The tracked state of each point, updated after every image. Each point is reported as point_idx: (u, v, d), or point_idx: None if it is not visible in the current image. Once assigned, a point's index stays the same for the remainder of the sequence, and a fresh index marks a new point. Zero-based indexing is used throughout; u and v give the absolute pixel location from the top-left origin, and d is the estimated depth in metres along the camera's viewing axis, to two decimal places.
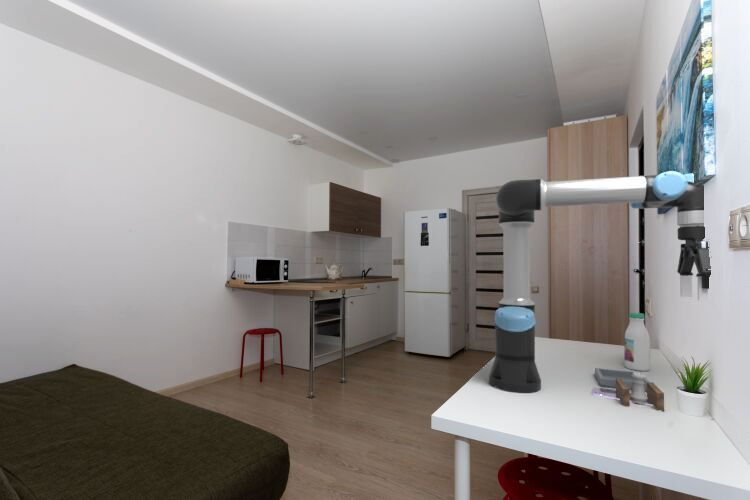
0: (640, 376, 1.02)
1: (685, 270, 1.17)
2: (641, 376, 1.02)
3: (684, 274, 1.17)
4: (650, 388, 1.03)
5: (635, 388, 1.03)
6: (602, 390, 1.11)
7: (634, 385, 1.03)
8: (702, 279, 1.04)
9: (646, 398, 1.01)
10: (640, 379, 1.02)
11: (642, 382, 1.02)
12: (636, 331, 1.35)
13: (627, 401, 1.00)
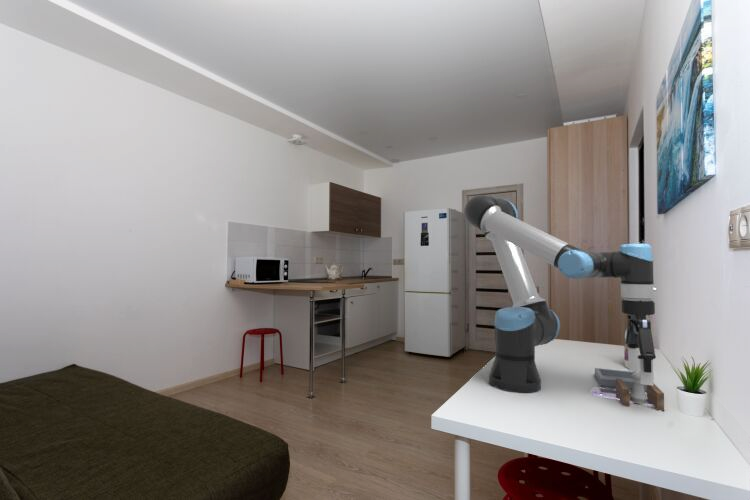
0: None
1: (632, 343, 1.09)
2: None
3: (632, 347, 1.10)
4: (650, 388, 1.03)
5: (635, 388, 1.03)
6: (602, 390, 1.11)
7: (634, 385, 1.03)
8: (643, 361, 0.97)
9: (646, 398, 1.01)
10: None
11: None
12: None
13: (627, 401, 1.00)
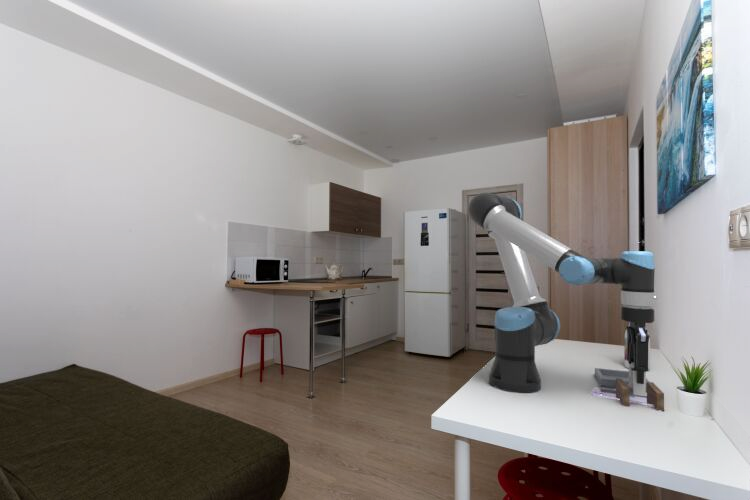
0: None
1: (633, 357, 1.06)
2: None
3: None
4: (650, 388, 1.03)
5: None
6: (602, 390, 1.11)
7: (632, 376, 1.04)
8: (637, 373, 1.01)
9: None
10: None
11: None
12: None
13: (627, 401, 1.00)
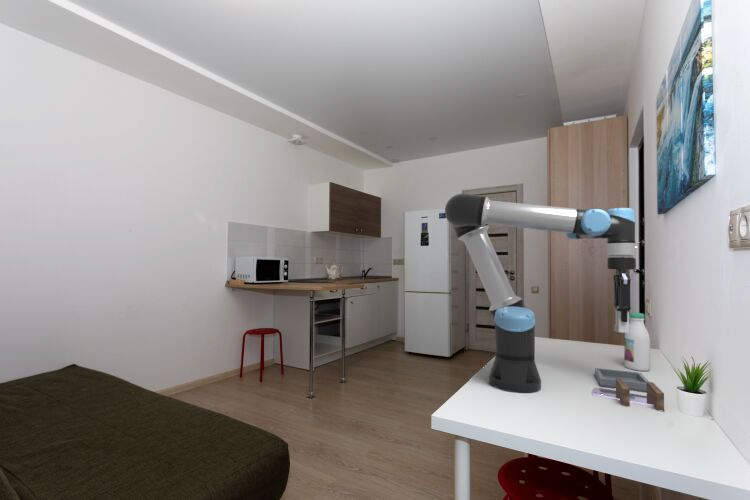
0: None
1: (619, 302, 1.22)
2: None
3: None
4: (650, 388, 1.03)
5: None
6: (603, 390, 1.11)
7: None
8: (621, 313, 1.16)
9: None
10: None
11: None
12: (636, 331, 1.35)
13: (627, 401, 1.00)
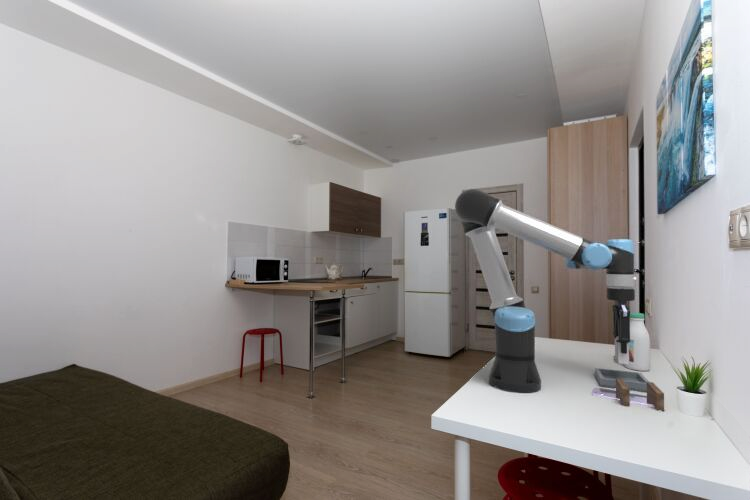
0: None
1: (618, 332, 1.22)
2: None
3: None
4: (650, 388, 1.03)
5: None
6: (603, 390, 1.11)
7: (617, 347, 1.19)
8: (621, 344, 1.17)
9: None
10: None
11: None
12: (636, 331, 1.35)
13: (627, 401, 1.00)
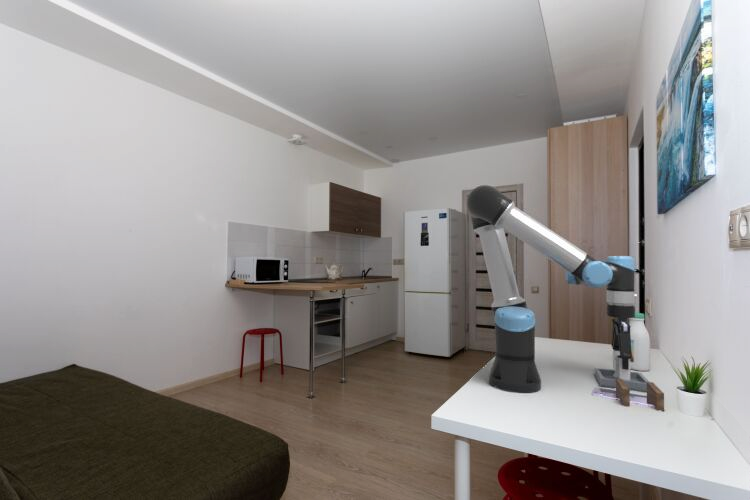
0: None
1: (616, 345, 1.24)
2: None
3: (616, 349, 1.25)
4: (650, 388, 1.03)
5: (617, 369, 1.19)
6: (603, 390, 1.11)
7: (617, 367, 1.19)
8: (622, 360, 1.14)
9: None
10: None
11: None
12: (636, 331, 1.35)
13: (627, 401, 1.00)
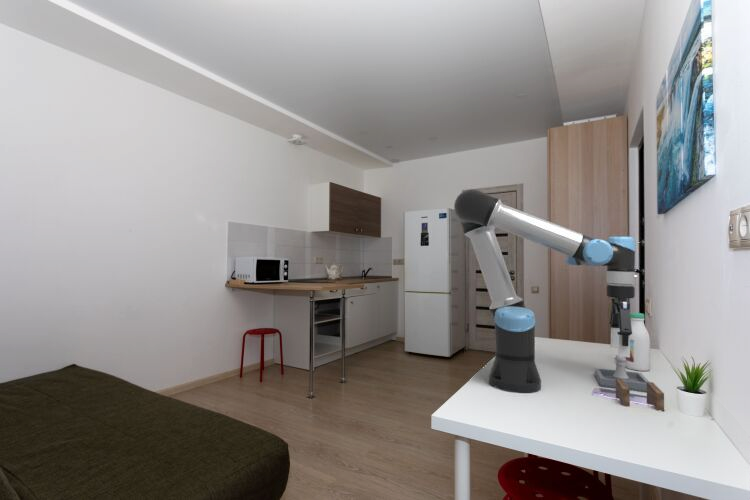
0: (622, 359, 1.18)
1: (615, 323, 1.26)
2: (623, 359, 1.18)
3: (614, 326, 1.27)
4: (650, 388, 1.03)
5: (618, 369, 1.19)
6: (603, 390, 1.11)
7: (617, 367, 1.19)
8: (622, 337, 1.13)
9: (627, 378, 1.18)
10: (622, 361, 1.18)
11: (623, 364, 1.18)
12: (636, 331, 1.35)
13: (627, 401, 1.00)
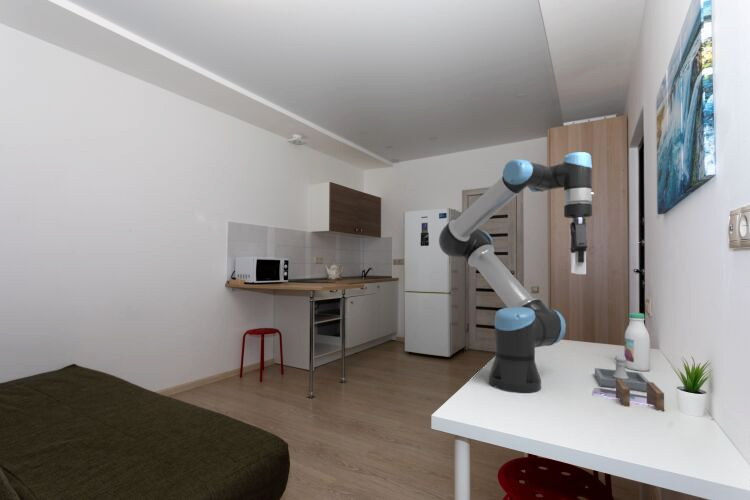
0: (622, 359, 1.18)
1: (574, 247, 1.20)
2: (623, 359, 1.18)
3: (574, 251, 1.21)
4: (650, 388, 1.03)
5: (618, 369, 1.19)
6: (603, 390, 1.11)
7: (617, 367, 1.19)
8: (578, 253, 1.08)
9: (627, 378, 1.18)
10: (622, 361, 1.18)
11: (623, 364, 1.18)
12: (636, 331, 1.35)
13: (627, 401, 1.00)
